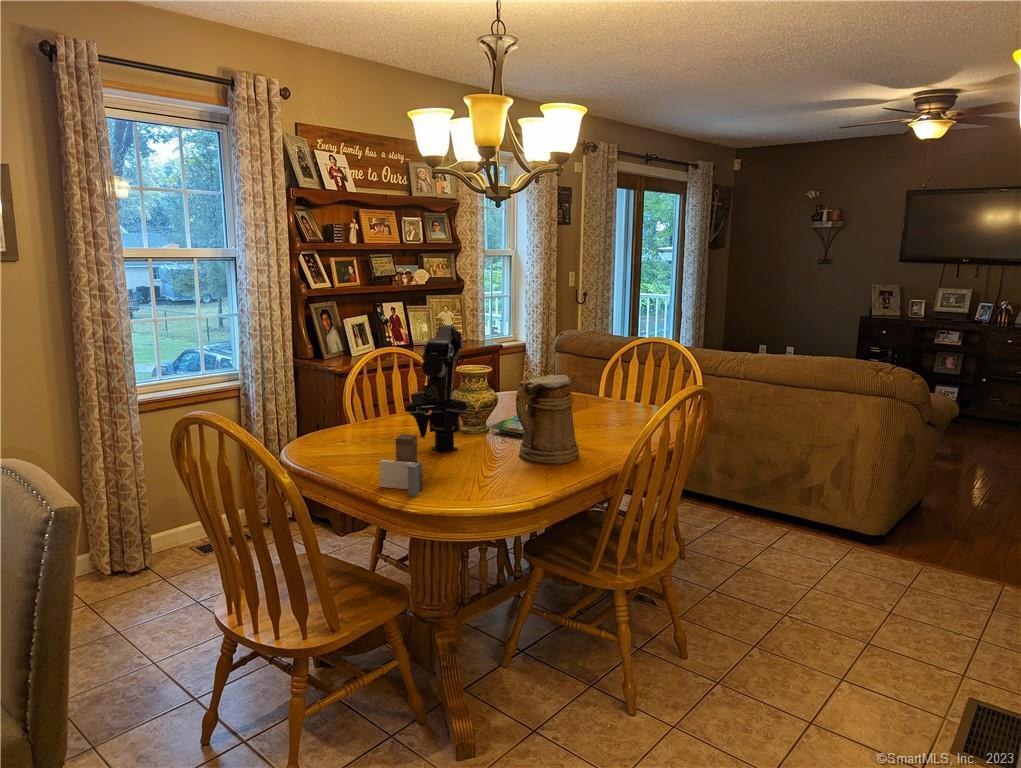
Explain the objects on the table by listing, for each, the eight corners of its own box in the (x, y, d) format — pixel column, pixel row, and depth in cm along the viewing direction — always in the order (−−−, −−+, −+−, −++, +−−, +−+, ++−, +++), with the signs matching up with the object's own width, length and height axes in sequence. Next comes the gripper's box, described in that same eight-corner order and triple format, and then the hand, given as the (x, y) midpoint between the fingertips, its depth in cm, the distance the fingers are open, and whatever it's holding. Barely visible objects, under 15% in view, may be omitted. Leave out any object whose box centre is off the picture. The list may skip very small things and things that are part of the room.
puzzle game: (550, 415, 251) (521, 427, 235) (550, 428, 252) (520, 440, 236) (522, 411, 258) (491, 422, 241) (522, 423, 258) (491, 435, 242)
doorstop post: (402, 479, 194) (401, 433, 191) (417, 481, 193) (417, 435, 190) (396, 484, 189) (395, 438, 187) (411, 486, 188) (411, 439, 186)
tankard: (590, 456, 218) (593, 377, 213) (540, 473, 201) (542, 387, 196) (546, 444, 230) (548, 369, 225) (495, 459, 213) (496, 378, 209)
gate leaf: (423, 488, 186) (423, 462, 185) (421, 490, 184) (420, 464, 183) (382, 484, 189) (382, 458, 187) (379, 487, 187) (379, 460, 185)
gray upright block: (415, 497, 180) (415, 467, 179) (408, 496, 181) (407, 466, 179) (419, 493, 183) (419, 463, 182) (412, 492, 184) (411, 462, 182)
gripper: (393, 381, 203) (390, 435, 200) (441, 376, 191) (438, 433, 189) (421, 386, 211) (418, 438, 209) (468, 382, 200) (466, 437, 198)
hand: (434, 437), depth 201 cm, fingers open, 9 cm apart
